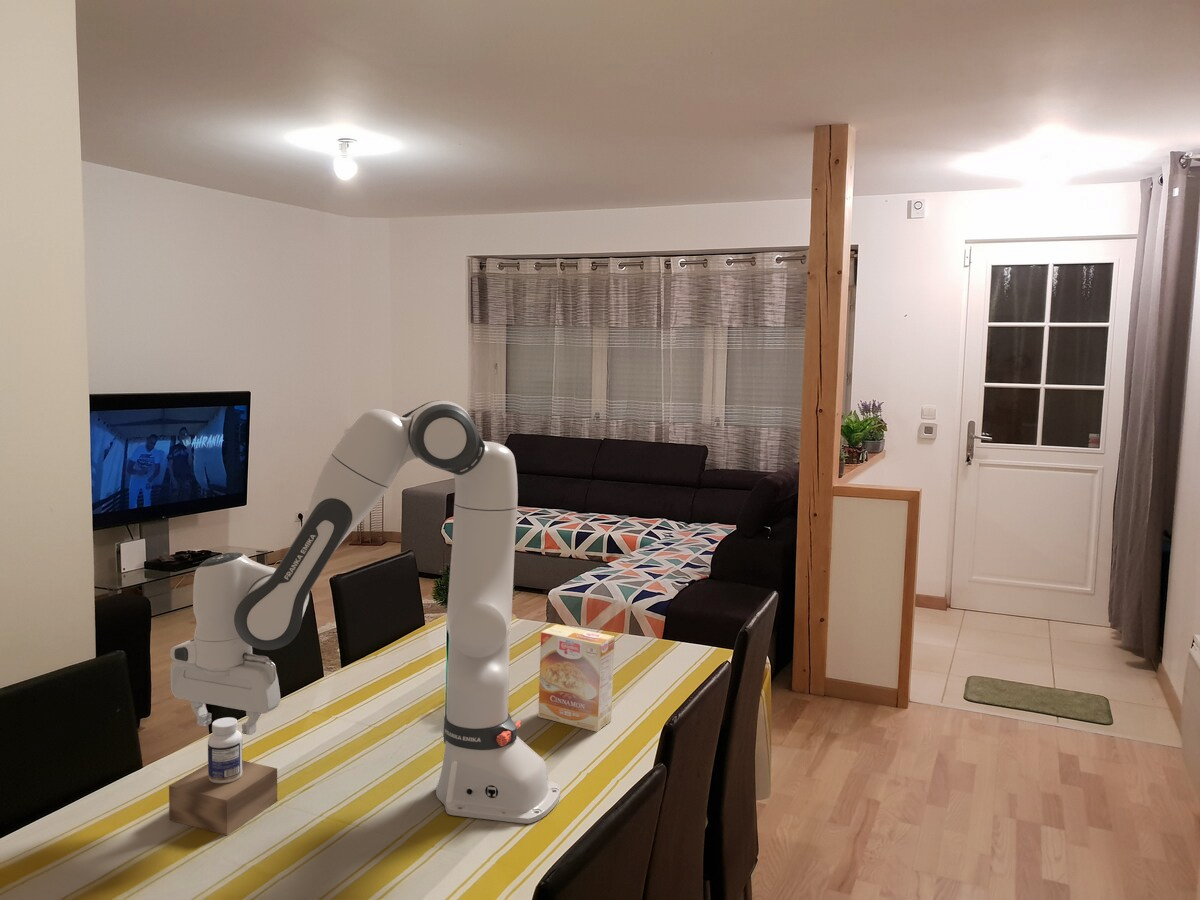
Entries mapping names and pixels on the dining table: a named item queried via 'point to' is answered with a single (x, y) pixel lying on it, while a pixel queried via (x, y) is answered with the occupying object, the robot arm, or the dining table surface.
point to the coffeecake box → (576, 677)
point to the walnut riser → (222, 798)
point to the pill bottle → (225, 751)
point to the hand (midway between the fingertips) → (226, 729)
